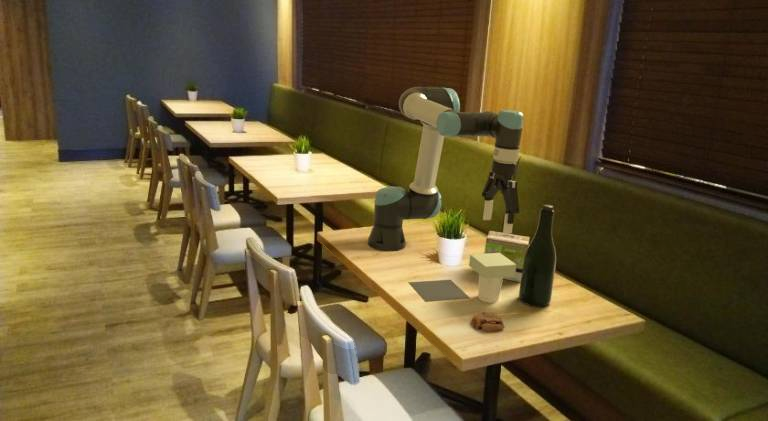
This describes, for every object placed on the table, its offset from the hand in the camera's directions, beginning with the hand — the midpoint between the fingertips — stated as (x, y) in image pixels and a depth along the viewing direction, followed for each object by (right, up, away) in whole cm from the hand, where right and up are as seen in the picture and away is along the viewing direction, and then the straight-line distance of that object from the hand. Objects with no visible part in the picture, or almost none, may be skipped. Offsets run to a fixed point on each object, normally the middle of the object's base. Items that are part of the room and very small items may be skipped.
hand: (496, 226), depth 195 cm
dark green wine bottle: (+14, -25, +8) cm, 30 cm away
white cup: (-2, -24, +7) cm, 25 cm away
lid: (-1, -15, +4) cm, 15 cm away
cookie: (-5, -30, -11) cm, 32 cm away
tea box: (+8, -19, +29) cm, 35 cm away
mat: (-18, -22, +10) cm, 30 cm away
